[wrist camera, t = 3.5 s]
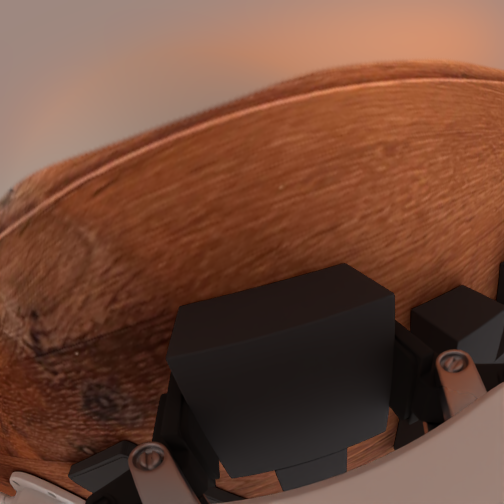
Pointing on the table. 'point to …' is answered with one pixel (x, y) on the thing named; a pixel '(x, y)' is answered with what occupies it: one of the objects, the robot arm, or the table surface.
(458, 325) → the black box
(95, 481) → the phone
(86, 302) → the table surface
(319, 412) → the pad
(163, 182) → the table surface
